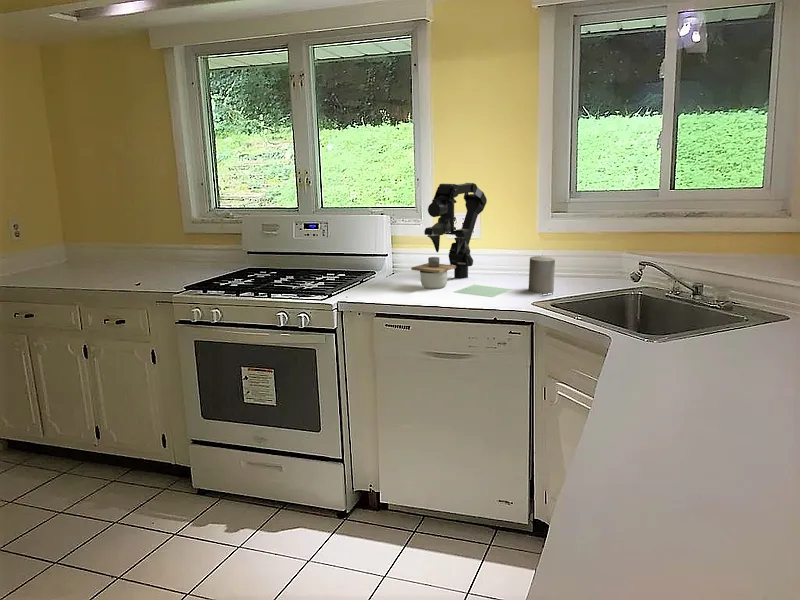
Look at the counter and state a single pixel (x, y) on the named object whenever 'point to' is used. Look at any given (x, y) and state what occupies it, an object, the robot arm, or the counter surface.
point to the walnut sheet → (437, 270)
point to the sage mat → (483, 290)
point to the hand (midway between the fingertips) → (447, 253)
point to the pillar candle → (541, 274)
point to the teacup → (433, 279)
